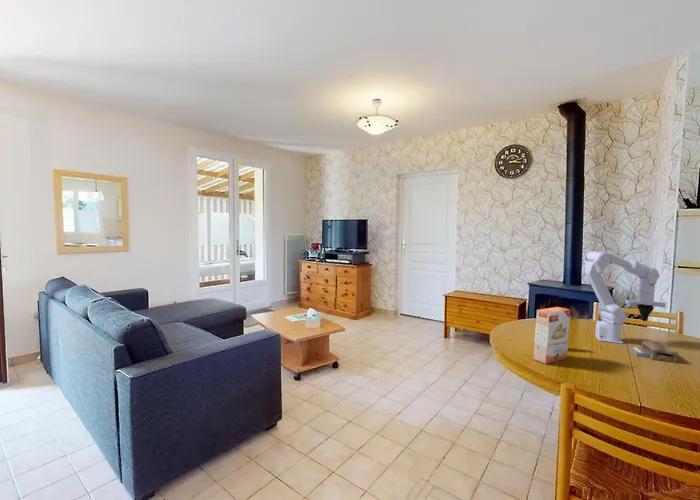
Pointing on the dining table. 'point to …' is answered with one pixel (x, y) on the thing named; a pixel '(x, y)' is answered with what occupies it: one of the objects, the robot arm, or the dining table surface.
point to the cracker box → (551, 334)
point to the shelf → (660, 351)
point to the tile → (643, 352)
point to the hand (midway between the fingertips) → (643, 320)
